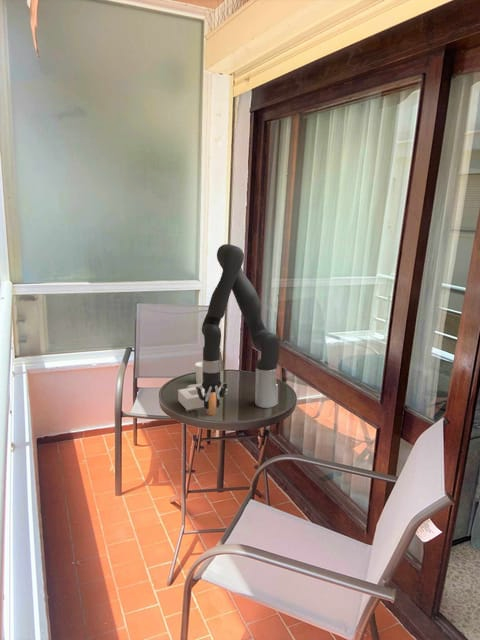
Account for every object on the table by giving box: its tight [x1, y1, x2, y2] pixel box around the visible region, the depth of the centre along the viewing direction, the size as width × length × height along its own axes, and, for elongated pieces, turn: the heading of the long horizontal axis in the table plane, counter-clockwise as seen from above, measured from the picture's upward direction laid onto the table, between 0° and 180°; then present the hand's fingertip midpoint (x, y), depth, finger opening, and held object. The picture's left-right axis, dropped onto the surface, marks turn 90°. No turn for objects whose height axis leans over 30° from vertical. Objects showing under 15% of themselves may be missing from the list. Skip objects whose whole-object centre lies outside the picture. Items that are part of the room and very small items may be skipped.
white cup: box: [194, 361, 203, 384], centre depth 242 cm, size 8×8×10 cm
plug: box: [206, 392, 217, 416], centre depth 205 cm, size 4×4×10 cm
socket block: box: [177, 387, 207, 412], centre depth 215 cm, size 12×12×6 cm
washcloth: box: [186, 383, 229, 395], centre depth 232 cm, size 12×18×3 cm, turn 109°
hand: (211, 407), depth 206 cm, fingers closed on plug, 4 cm apart
